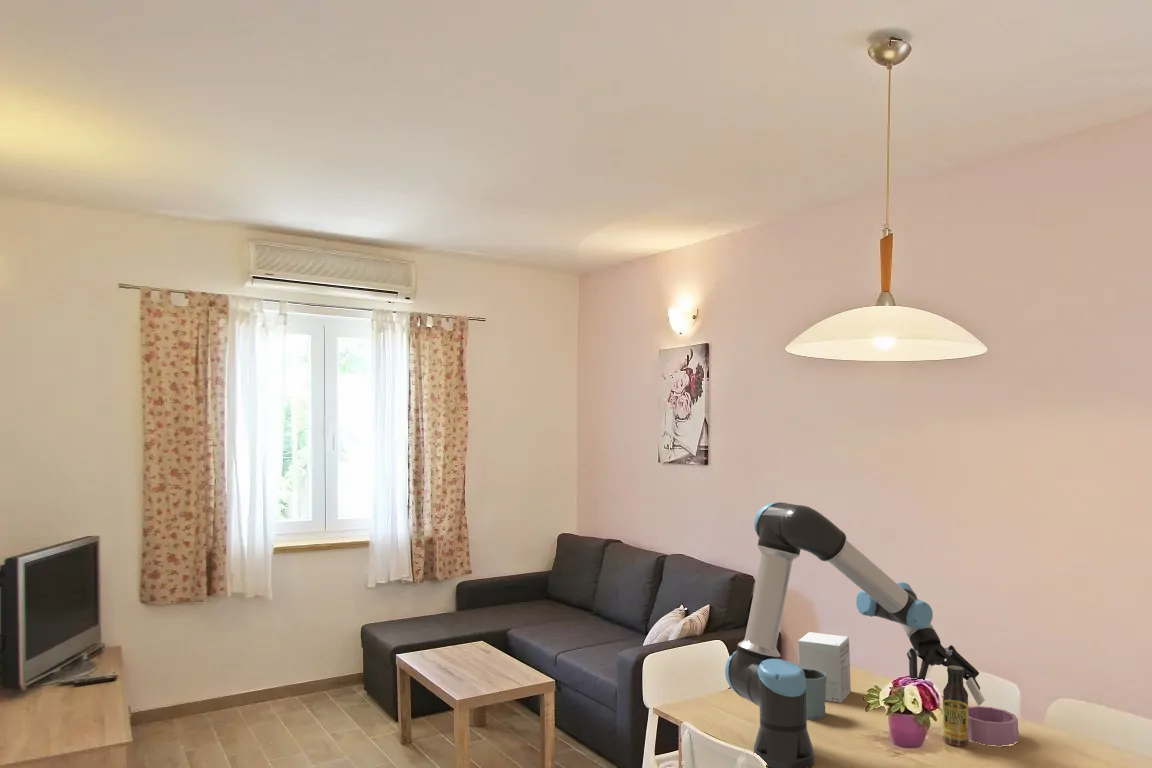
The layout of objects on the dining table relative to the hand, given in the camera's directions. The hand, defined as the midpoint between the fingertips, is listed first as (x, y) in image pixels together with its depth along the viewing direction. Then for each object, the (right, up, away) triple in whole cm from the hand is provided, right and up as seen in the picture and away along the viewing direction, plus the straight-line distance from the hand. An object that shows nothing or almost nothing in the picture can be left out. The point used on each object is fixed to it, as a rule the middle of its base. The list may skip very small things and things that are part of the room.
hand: (959, 704), depth 212 cm
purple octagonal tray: (+10, -11, +4) cm, 15 cm away
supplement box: (-23, -14, +41) cm, 49 cm away
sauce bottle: (-1, -11, 0) cm, 11 cm away
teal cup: (-33, -12, +23) cm, 42 cm away
